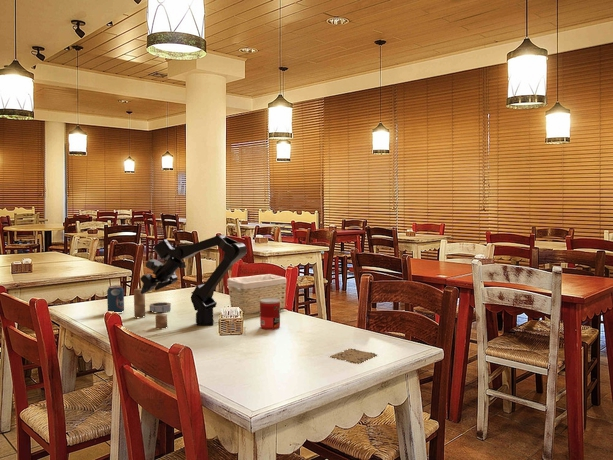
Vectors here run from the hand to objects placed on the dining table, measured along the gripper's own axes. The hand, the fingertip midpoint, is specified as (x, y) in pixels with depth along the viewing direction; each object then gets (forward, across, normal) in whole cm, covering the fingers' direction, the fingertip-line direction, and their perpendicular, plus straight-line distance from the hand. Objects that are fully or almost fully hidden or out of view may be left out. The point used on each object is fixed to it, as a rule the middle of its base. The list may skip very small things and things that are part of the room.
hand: (148, 291), depth 225 cm
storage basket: (-17, -33, +33) cm, 50 cm away
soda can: (+22, -2, -6) cm, 23 cm away
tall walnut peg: (+11, 0, +5) cm, 12 cm away
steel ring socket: (+11, -13, +5) cm, 18 cm away
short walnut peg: (-3, +12, +19) cm, 22 cm away
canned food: (-31, -5, +47) cm, 57 cm away
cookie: (-61, +19, +77) cm, 100 cm away
